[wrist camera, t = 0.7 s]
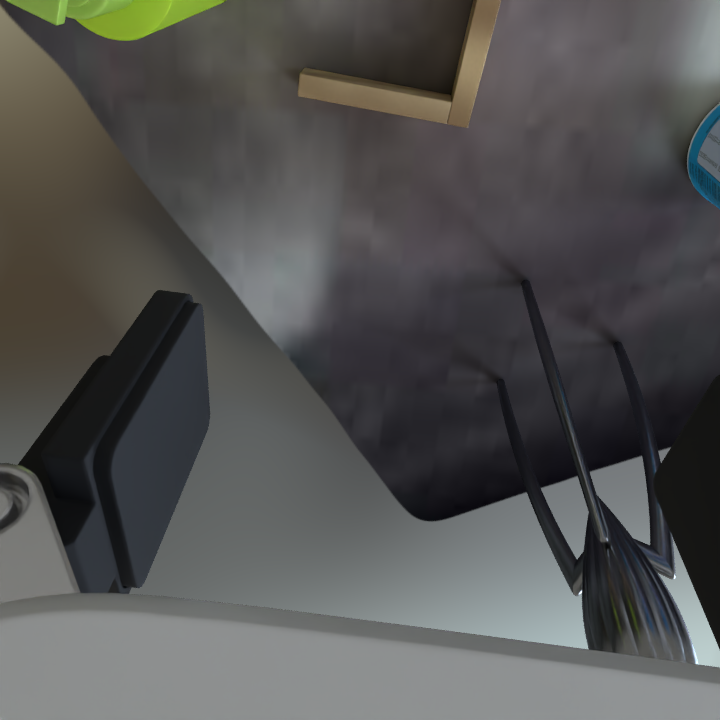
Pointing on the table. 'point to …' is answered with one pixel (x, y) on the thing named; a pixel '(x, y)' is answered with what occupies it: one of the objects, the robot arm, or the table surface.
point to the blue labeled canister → (706, 157)
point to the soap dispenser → (117, 14)
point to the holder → (412, 99)
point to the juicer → (608, 533)
